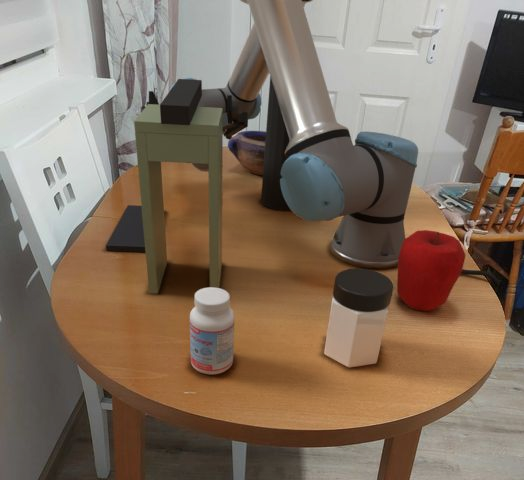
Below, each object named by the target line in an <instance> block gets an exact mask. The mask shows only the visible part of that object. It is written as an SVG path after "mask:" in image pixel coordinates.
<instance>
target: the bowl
mask: <svg viewBox="0 0 524 480" xmlns="http://www.w3.org/2000/svg"><path fill="white" fill-rule="evenodd" d="M265 140H266V130H244V131H243V130H242V131H239V132H238V133H236V134H235V135H233V136H232V138H231V139H228V142H227V147H228V150H229V152H231V154H232V155H233V156H234V157H235V159H236V160H237V161H238V163H239V164H240V165H241V166H242V167H243V168H244V169H245V170H246V171H247V172H248V173H250V174H253V175H258V176H263V166H264V153H265Z"/></svg>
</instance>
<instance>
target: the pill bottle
mask: <svg viewBox="0 0 524 480" xmlns="http://www.w3.org/2000/svg"><path fill="white" fill-rule="evenodd" d="M230 297H231V295H230V293H229V292H228V291H227V290H225V289H223V288H220V287H219V288H215V287H210V286H209V287H203V288H200V289H198V290H197V291H196V292H194V302H193V304H194V307H193V308H192V309H191V311H190V313H189V344H190V345H189V350H190V363H191V366H192V367H193V369H195V370H196V371H197V372H199V373H201V374H205V375H219V374H223V373H224V372H226V371H227V370H229V369H230V368H231V367H232V365H233V363H234V347H235V346H234V343H235V313H234V310H233V309H232V308H231V306H230V305H231V301H230V300H231V298H230Z"/></svg>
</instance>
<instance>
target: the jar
mask: <svg viewBox="0 0 524 480" xmlns="http://www.w3.org/2000/svg"><path fill="white" fill-rule="evenodd" d="M393 292H394V283H393V281H392V280H391V279H390V278H389V277H388V276H387V275H385V274H383V273H381V272H379V271H376V270H374V269H369V268H361V267H359V268H357V267H356V268H348V269H344V270H342V271H339V272H338V273H337V274H336V275H335V278H334V284H333V291H332V299H331V305H330V310H329V311H330V312H329V318H328V319H329V320H328V325H327V331H326V337H325V345H324V351H323V354H324V355H325V356H327V357H328V358H330V359H332V360H334V361H336V362H337V363H338V364H339V363H340V364H341V365H343V366H345V367H346V368H348V369H349V368H355V367H363V366H369V365H374V364H377V362H378V358H379V354H380V350H381V346H382V341H383V337H384V332H385V327H386V323H387V319H388V314H389V309H390V308H389V306H390V304H391V300H392V296H393Z"/></svg>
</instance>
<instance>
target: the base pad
mask: <svg viewBox="0 0 524 480" xmlns="http://www.w3.org/2000/svg"><path fill="white" fill-rule="evenodd" d="M105 250H106V251H107V252H125V253H146V251H145V240H144V229H143V217H142V206H141V205H135V204H134V205H133V204H128V205H127V206H126V207H125V210H124V211H123V213H122V215H121V217H120V218H119V221H118V222H117V223H116V226H115V228H114V229H113V231H112V233H111V235H110V237H109V239H108V241H107V242H106V244H105Z"/></svg>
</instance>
